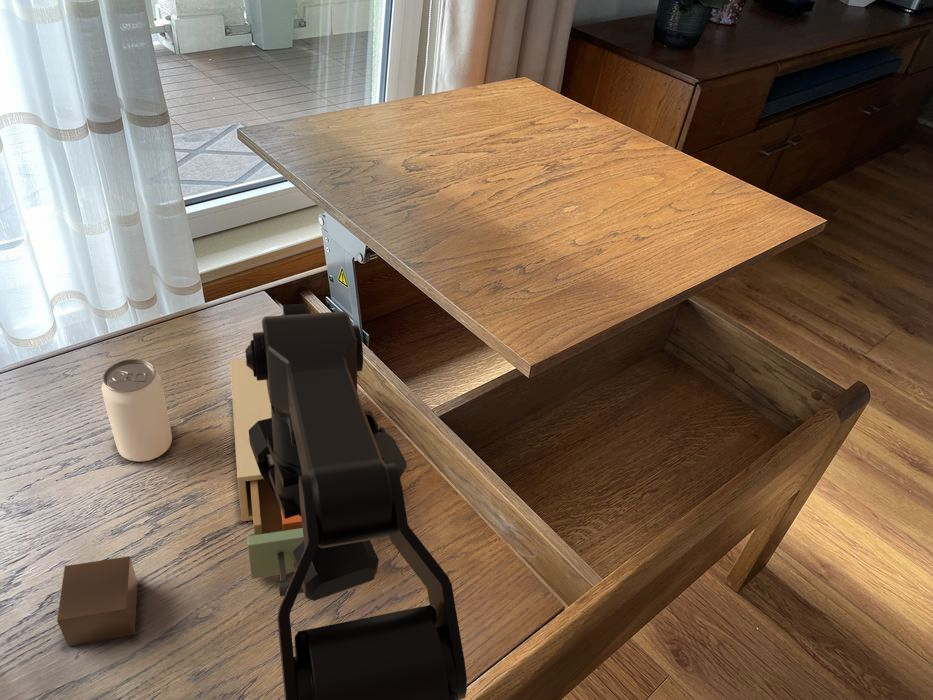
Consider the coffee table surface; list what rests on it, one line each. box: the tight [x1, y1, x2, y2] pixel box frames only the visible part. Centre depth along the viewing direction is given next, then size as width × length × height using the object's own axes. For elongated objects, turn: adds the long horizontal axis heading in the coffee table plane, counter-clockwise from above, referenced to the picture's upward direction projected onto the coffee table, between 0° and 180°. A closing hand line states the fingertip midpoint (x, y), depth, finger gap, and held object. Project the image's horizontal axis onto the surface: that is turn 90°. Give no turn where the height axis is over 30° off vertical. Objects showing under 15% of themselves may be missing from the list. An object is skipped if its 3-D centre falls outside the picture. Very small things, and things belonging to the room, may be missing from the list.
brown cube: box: [56, 555, 139, 647], centre depth 72 cm, size 6×6×5 cm
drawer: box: [246, 479, 304, 598], centre depth 82 cm, size 23×11×6 cm, turn 16°
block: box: [280, 507, 303, 531], centre depth 81 cm, size 4×4×4 cm
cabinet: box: [229, 358, 272, 522], centre depth 90 cm, size 20×13×8 cm, turn 16°
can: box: [101, 358, 173, 463], centre depth 87 cm, size 6×6×12 cm
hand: (309, 550), depth 69 cm, fingers open, 9 cm apart
